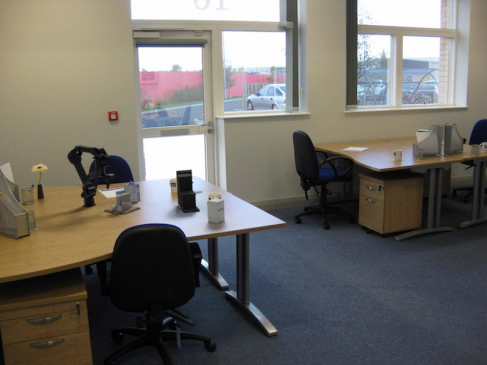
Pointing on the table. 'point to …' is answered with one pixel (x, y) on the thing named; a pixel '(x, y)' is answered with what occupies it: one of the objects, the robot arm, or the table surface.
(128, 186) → the ink cartridge box
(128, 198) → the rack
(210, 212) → the supplement box
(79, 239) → the table surface
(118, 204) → the book
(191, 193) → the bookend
